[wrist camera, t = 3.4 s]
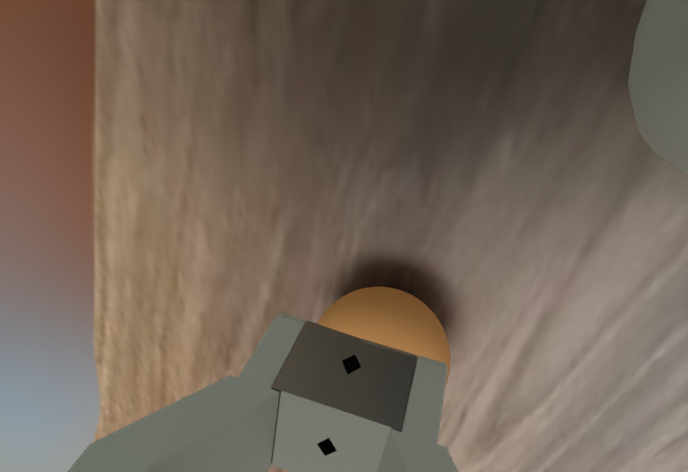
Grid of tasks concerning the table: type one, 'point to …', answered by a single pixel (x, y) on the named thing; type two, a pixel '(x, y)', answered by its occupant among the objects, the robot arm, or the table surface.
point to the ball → (390, 322)
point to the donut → (662, 80)
